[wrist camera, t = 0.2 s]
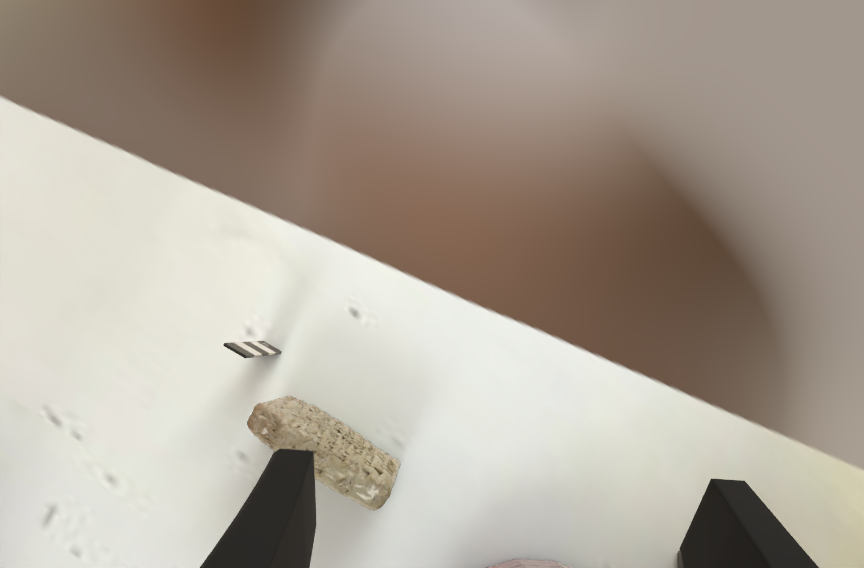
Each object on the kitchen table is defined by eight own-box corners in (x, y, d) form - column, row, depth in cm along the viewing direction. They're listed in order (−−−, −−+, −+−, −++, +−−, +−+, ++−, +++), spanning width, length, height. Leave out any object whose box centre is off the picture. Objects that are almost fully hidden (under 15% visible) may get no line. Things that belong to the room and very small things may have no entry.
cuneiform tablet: (263, 340, 44) (422, 432, 43) (229, 400, 44) (388, 494, 43) (224, 343, 37) (413, 453, 36) (183, 414, 37) (372, 527, 36)
